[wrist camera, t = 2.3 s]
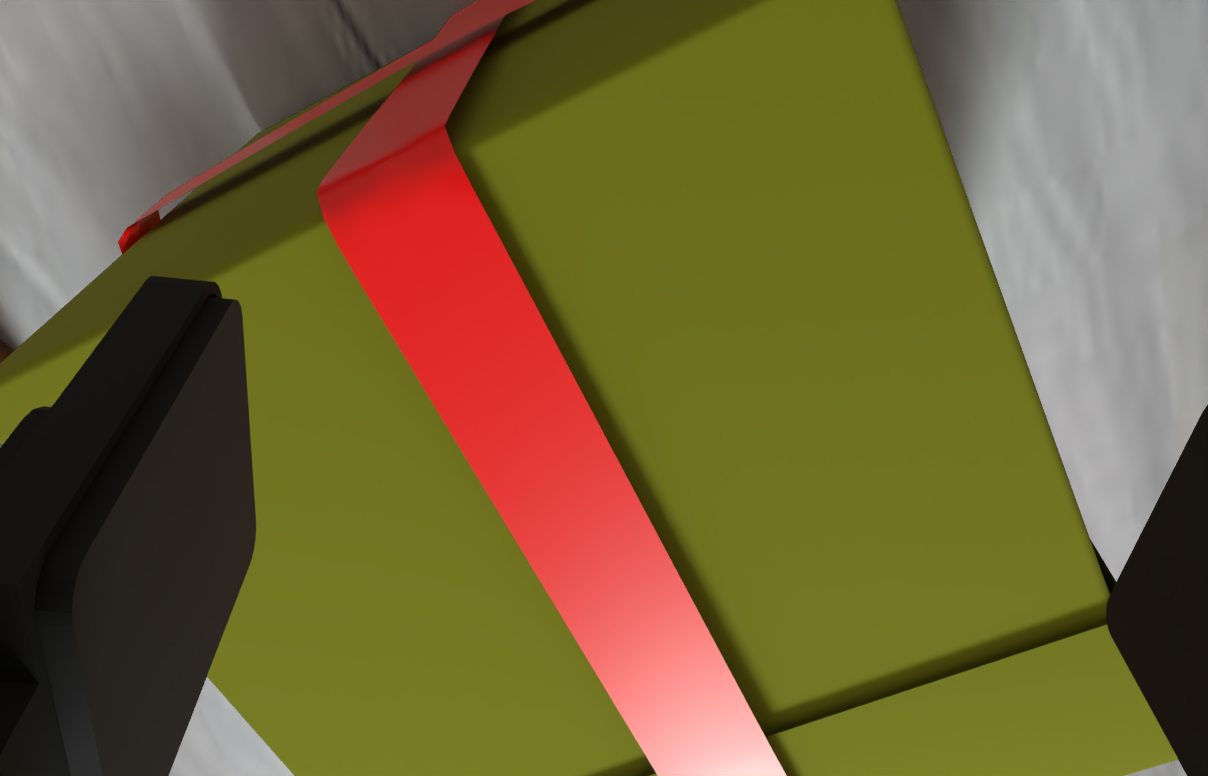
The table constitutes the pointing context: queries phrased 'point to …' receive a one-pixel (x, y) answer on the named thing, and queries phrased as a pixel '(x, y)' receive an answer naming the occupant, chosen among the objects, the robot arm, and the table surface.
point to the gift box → (635, 416)
